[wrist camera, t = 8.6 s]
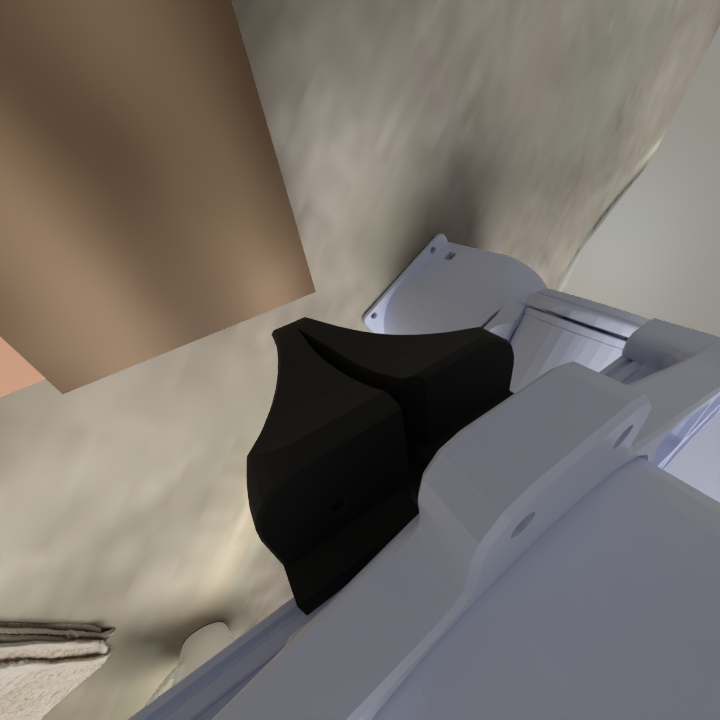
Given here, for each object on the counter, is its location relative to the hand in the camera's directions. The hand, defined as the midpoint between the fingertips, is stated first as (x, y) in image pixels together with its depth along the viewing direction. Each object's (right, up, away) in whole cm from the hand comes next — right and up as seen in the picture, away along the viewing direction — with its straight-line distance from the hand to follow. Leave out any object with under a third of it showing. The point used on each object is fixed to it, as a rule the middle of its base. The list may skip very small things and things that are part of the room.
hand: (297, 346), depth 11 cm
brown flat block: (-8, +7, +3) cm, 11 cm away
